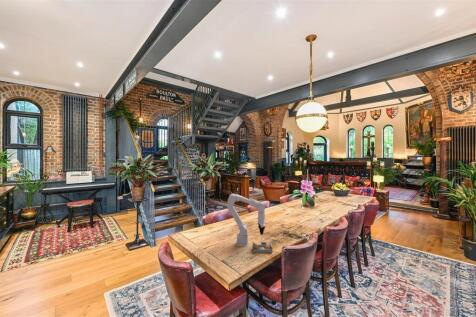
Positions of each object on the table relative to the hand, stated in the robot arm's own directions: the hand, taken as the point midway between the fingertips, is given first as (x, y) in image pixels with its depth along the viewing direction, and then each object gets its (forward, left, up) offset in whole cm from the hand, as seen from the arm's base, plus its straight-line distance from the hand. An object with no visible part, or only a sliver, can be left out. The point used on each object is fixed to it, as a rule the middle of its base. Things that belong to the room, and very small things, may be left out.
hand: (261, 232), depth 173 cm
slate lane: (0, -10, -10) cm, 14 cm away
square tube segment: (+2, -3, -10) cm, 10 cm away
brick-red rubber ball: (+4, -12, -8) cm, 14 cm away
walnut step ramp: (-4, -11, -10) cm, 15 cm away
